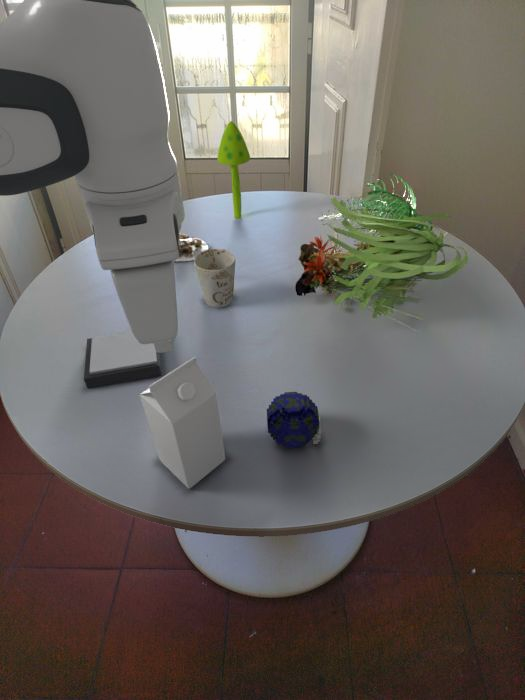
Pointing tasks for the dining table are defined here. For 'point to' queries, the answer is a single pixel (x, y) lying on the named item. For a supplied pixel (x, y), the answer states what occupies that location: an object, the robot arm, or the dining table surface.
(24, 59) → the robot arm
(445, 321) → the dining table surface
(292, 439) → the ball
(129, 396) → the dining table surface
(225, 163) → the mushroom
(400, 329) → the dining table surface
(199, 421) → the milk carton
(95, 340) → the scale
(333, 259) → the plant
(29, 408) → the dining table surface
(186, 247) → the plate of food scraps
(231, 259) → the mug
